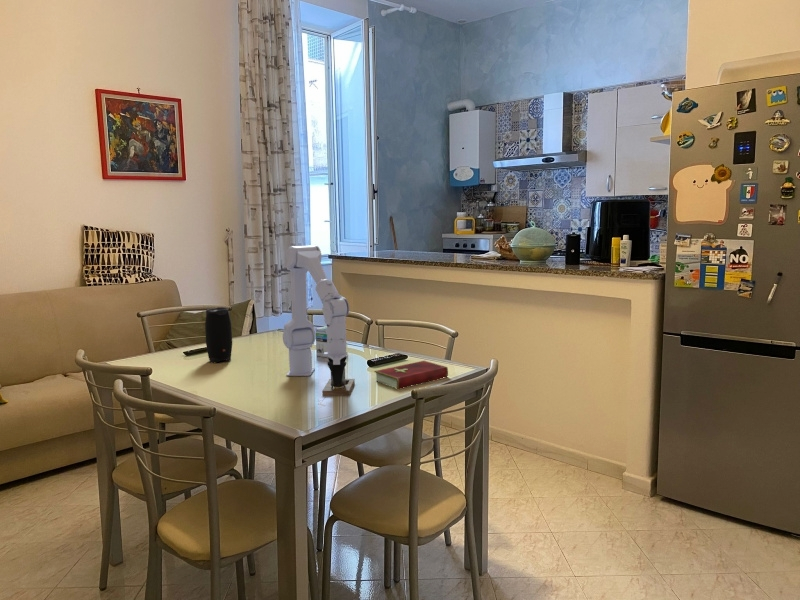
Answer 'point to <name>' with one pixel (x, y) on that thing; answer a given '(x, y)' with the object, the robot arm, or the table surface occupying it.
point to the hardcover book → (411, 374)
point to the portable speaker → (218, 334)
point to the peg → (341, 383)
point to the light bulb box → (321, 341)
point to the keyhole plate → (345, 391)
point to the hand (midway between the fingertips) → (337, 382)
